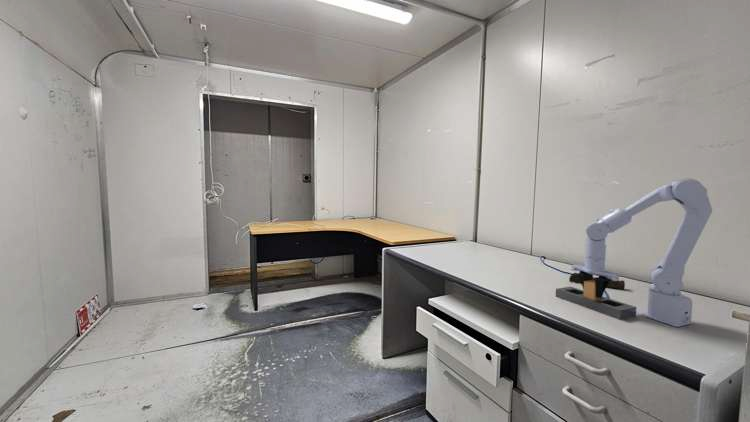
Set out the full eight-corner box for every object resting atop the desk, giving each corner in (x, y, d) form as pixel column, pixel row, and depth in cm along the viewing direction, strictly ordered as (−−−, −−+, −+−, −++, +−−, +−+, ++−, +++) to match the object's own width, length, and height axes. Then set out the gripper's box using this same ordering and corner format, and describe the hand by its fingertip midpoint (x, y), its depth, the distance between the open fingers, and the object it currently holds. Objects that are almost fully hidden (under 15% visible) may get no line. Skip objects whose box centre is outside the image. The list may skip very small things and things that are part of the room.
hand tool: (623, 289, 124) (624, 278, 124) (624, 291, 121) (625, 280, 121) (569, 281, 135) (570, 270, 135) (569, 283, 132) (569, 272, 132)
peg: (600, 302, 104) (601, 282, 103) (593, 303, 103) (594, 284, 102) (590, 299, 107) (591, 279, 107) (583, 300, 106) (584, 281, 105)
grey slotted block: (635, 316, 96) (636, 307, 96) (619, 319, 93) (620, 310, 93) (570, 294, 117) (570, 286, 117) (555, 296, 114) (555, 288, 114)
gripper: (567, 253, 109) (565, 290, 110) (610, 262, 96) (607, 303, 97) (580, 252, 112) (578, 287, 113) (624, 261, 98) (621, 301, 99)
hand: (592, 295), depth 105 cm, fingers closed on peg, 4 cm apart
